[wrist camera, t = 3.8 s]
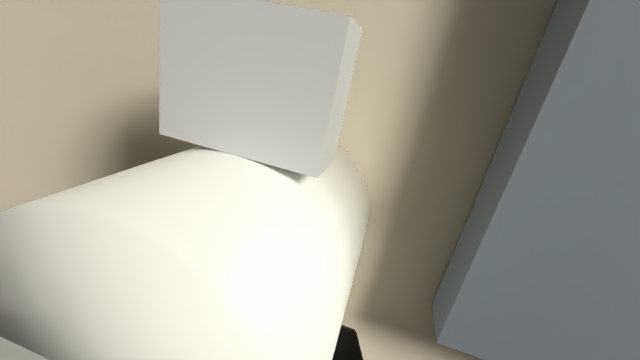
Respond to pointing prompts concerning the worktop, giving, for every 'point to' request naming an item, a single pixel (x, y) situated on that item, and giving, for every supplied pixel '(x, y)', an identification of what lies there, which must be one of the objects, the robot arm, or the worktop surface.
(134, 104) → the worktop surface
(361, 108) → the worktop surface
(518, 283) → the slate mat
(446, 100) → the worktop surface
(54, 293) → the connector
